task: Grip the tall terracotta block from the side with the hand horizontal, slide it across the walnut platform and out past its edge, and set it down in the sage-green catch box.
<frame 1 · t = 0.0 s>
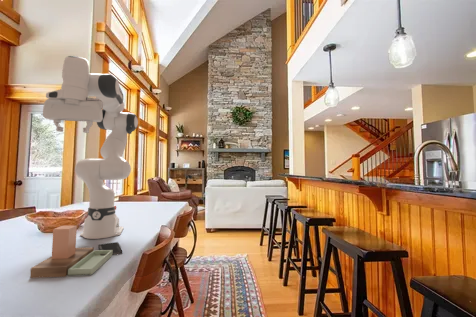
hand: (72, 132, 93), 48 cm above the table, tool pointing down, fingers open, 8 cm apart
terracotta block: (63, 256, 84), point 3 cm above the table, touching platform
phone: (110, 251, 100), on the table
platform: (65, 265, 84), on the table
catch box: (92, 264, 85), on the table
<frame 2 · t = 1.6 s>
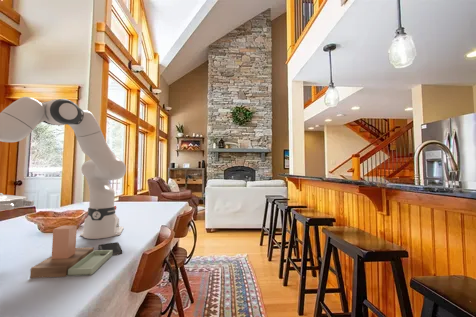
hand: (23, 205, 83), 21 cm above the table, tool horizontal, fingers open, 8 cm apart
nothing on the table moved.
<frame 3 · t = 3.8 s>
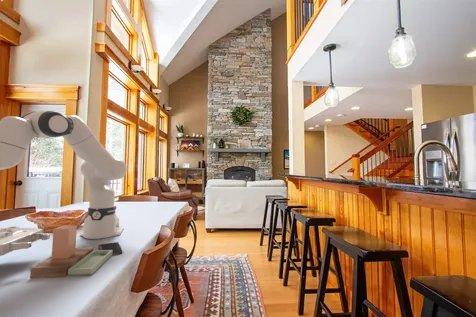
hand: (39, 240, 83), 8 cm above the table, tool horizontal, fingers open, 8 cm apart
nothing on the table moved.
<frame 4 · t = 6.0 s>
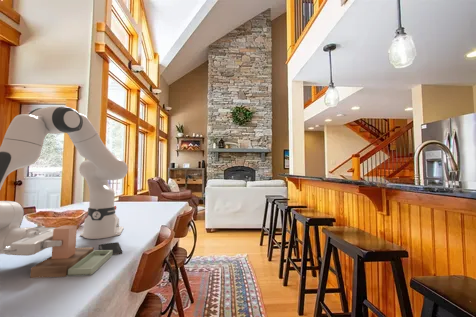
hand: (67, 240, 85), 9 cm above the table, tool horizontal, fingers closed on terracotta block, 5 cm apart
terracotta block: (63, 256, 84), point 3 cm above the table, touching gripper, platform
everything else where it was.
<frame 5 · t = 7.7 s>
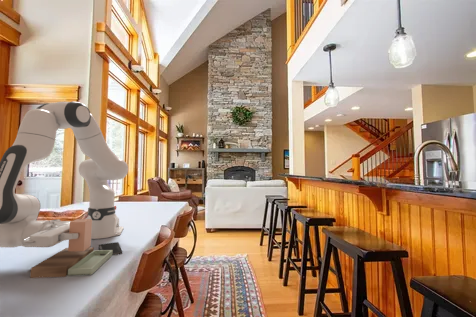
hand: (83, 233, 85), 11 cm above the table, tool horizontal, fingers closed on terracotta block, 5 cm apart
terracotta block: (79, 248, 85), point 5 cm above the table, touching gripper
everything else where it was.
when the fingers open (8 cm above the table, at t = 9.8 s): terracotta block drops 2 cm, resting on catch box.
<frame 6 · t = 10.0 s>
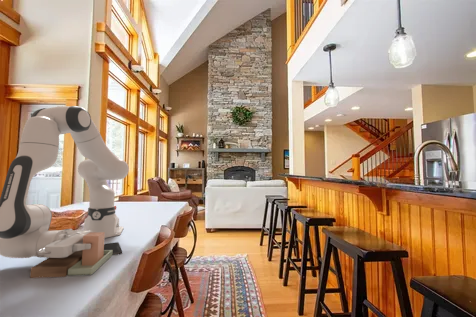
hand: (96, 242, 86), 8 cm above the table, tool horizontal, fingers open, 7 cm apart
terracotta block: (92, 262, 85), point 1 cm above the table, touching catch box
everything else where it was.
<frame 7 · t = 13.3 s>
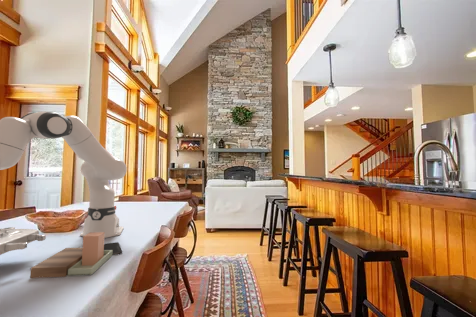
hand: (35, 241, 83), 8 cm above the table, tool horizontal, fingers open, 8 cm apart
nothing on the table moved.
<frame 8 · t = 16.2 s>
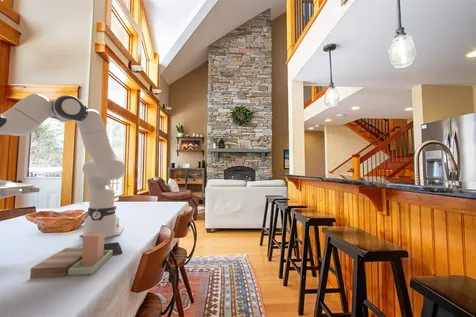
hand: (30, 190, 91), 25 cm above the table, tool horizontal, fingers open, 8 cm apart
nothing on the table moved.
at the end: terracotta block inside the target area (0.3 cm from its centre), point 0.5 cm above the table; terracotta block tilted 0°; the gripper is holding nothing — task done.
